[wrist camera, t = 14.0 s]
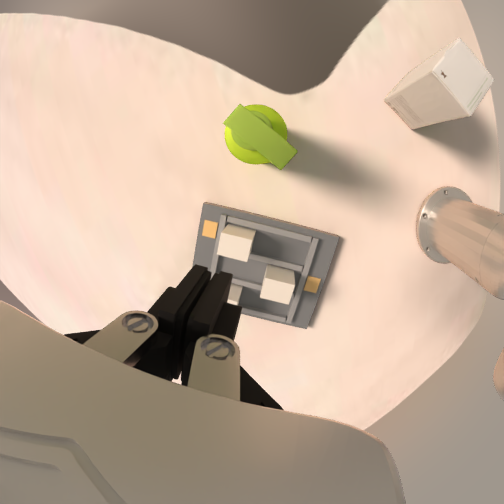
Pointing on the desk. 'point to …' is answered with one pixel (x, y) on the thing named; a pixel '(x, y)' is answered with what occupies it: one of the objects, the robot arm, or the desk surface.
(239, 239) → the tab
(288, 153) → the soap dispenser
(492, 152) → the desk surface
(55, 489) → the robot arm
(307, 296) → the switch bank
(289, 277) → the tab
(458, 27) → the desk surface
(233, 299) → the tab
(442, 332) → the desk surface
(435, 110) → the skincare box
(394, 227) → the desk surface
